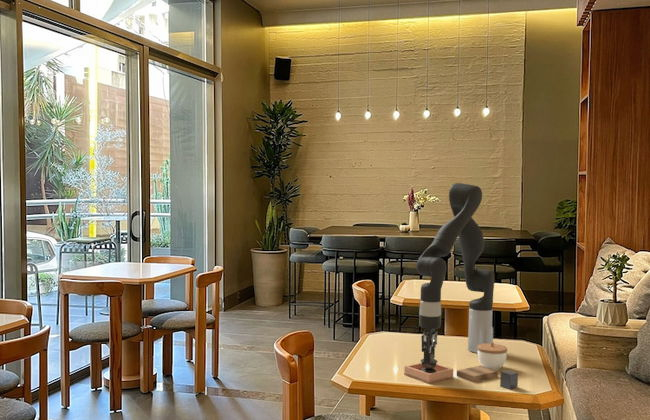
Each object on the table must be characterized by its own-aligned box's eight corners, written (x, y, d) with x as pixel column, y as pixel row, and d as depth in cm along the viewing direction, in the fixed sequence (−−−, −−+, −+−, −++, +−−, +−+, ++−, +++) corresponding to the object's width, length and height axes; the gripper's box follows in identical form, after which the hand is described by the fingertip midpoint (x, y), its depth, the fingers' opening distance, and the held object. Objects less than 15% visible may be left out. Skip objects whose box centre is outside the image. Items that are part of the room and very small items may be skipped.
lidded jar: (501, 373, 228) (502, 348, 227) (472, 368, 234) (473, 343, 233) (510, 366, 237) (510, 341, 236) (482, 361, 243) (482, 337, 242)
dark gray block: (507, 384, 216) (508, 369, 216) (517, 387, 213) (518, 372, 213) (500, 386, 214) (500, 371, 214) (510, 389, 211) (510, 374, 210)
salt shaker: (425, 373, 220) (426, 339, 219) (417, 369, 226) (418, 335, 225) (440, 372, 222) (441, 338, 221) (432, 367, 228) (433, 334, 227)
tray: (428, 368, 232) (428, 360, 232) (453, 377, 223) (453, 368, 222) (404, 374, 225) (404, 366, 225) (429, 383, 215) (429, 374, 215)
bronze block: (480, 372, 231) (480, 365, 231) (497, 378, 224) (497, 371, 224) (456, 377, 224) (456, 370, 224) (473, 383, 218) (473, 376, 217)
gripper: (436, 318, 215) (434, 367, 216) (445, 310, 228) (444, 356, 229) (414, 316, 218) (413, 364, 218) (424, 308, 231) (423, 354, 232)
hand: (429, 360), depth 224 cm, fingers closed on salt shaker, 5 cm apart
